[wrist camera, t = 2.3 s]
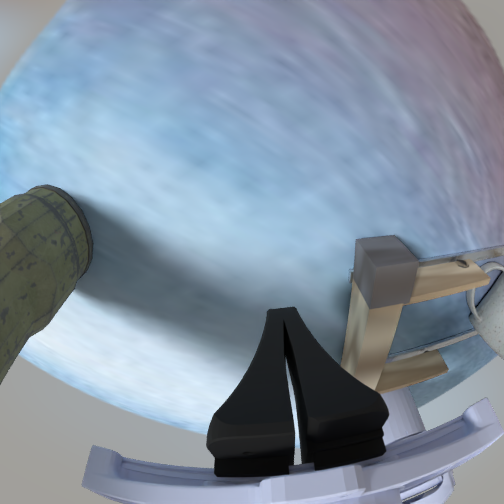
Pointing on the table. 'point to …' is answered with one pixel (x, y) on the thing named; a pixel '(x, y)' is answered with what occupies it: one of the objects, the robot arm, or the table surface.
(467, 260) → the tan wooden bracket
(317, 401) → the robot arm
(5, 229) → the thermos
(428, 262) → the track
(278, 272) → the table surface
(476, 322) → the ceramic mug
